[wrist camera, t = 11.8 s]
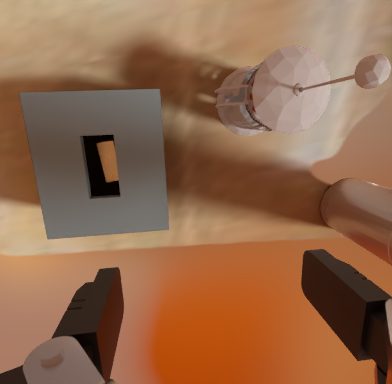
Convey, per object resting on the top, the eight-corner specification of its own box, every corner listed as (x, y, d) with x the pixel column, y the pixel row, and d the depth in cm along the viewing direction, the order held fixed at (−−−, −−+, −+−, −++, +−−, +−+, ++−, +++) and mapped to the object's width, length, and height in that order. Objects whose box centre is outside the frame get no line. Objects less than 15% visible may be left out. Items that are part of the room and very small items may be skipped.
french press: (279, 134, 41) (443, 150, 17) (205, 138, 40) (267, 161, 16) (282, 65, 38) (479, -32, 14) (203, 67, 37) (273, -36, 13)
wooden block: (120, 138, 38) (112, 140, 33) (128, 171, 40) (122, 179, 34) (106, 140, 38) (96, 143, 32) (114, 173, 40) (106, 182, 34)
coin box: (160, 97, 38) (159, 88, 28) (168, 205, 42) (169, 229, 32) (57, 100, 36) (18, 92, 27) (75, 211, 40) (47, 239, 31)
